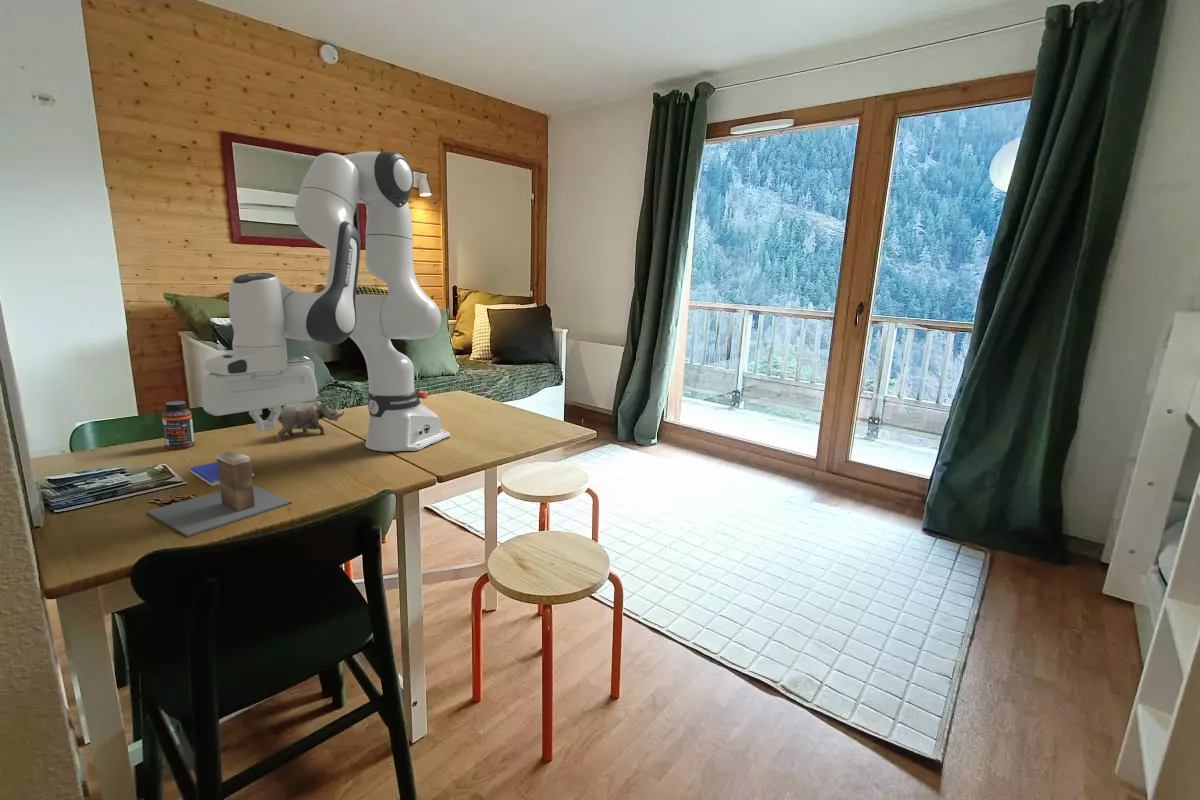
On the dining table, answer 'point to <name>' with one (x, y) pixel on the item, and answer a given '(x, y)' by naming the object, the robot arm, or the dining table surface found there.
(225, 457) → the block
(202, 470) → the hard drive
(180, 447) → the supplement bottle
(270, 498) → the mat
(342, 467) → the dining table surface
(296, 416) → the rhinoceros figurine
